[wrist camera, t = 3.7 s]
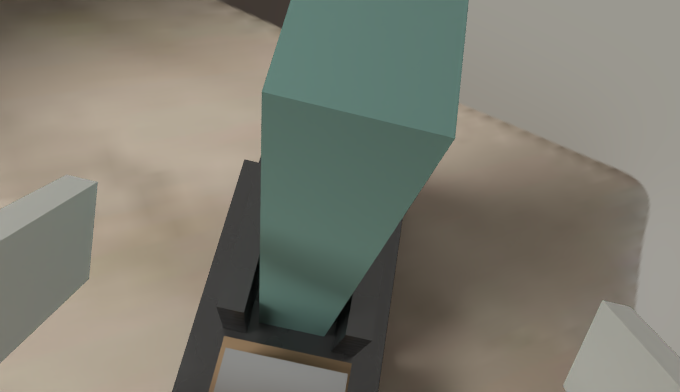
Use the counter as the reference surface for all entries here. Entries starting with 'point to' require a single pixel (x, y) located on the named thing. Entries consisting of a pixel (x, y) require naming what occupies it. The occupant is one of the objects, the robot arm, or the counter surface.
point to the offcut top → (273, 375)
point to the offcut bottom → (279, 357)
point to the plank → (349, 143)
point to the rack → (243, 323)
